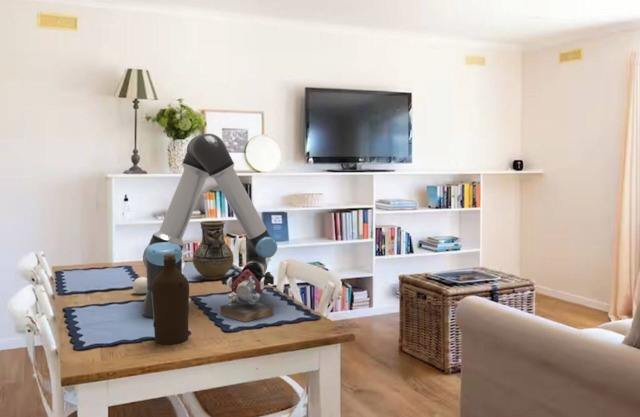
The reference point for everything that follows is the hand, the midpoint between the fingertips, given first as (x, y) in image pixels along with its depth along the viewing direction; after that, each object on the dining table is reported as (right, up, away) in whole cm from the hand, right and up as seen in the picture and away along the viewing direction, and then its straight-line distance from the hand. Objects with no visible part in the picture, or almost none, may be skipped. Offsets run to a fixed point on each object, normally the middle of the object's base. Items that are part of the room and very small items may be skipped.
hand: (244, 285), depth 191 cm
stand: (0, -11, +5) cm, 12 cm away
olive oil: (-19, -13, -22) cm, 31 cm away
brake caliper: (0, -6, +4) cm, 7 cm away
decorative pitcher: (-23, -6, +67) cm, 71 cm away
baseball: (-45, -8, +36) cm, 58 cm away
